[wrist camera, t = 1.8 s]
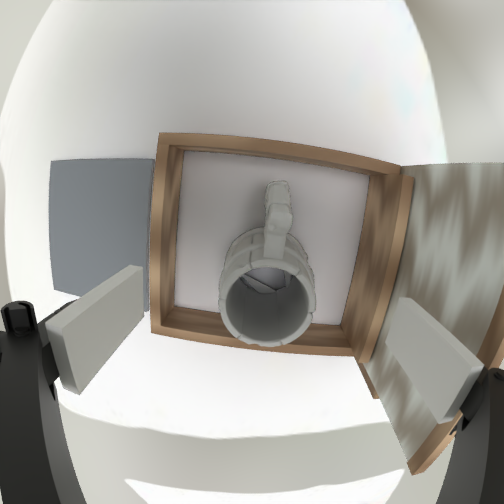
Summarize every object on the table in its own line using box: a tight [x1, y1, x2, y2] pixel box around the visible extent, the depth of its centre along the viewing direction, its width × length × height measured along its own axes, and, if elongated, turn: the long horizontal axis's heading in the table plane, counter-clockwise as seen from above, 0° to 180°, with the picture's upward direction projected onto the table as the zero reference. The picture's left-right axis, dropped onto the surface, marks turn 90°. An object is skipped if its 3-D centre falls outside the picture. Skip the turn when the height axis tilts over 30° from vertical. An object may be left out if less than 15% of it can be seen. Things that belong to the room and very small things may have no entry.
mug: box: [218, 181, 316, 347], centre depth 21 cm, size 8×12×12 cm, turn 174°
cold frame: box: [150, 133, 504, 475], centre depth 17 cm, size 19×21×19 cm
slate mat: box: [49, 159, 154, 312], centre depth 27 cm, size 16×14×1 cm
